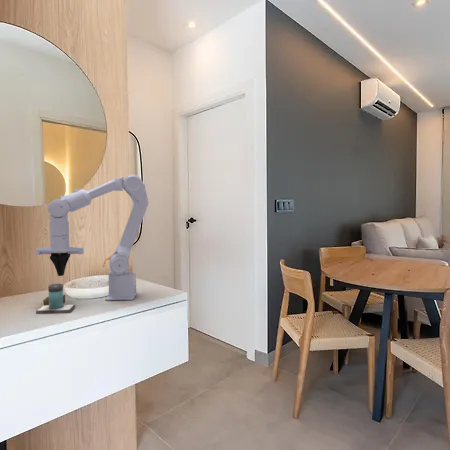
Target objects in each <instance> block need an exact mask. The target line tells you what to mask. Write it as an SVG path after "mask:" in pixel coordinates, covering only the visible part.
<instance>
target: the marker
mask: <svg viewBox="0 0 450 450" xmlns="http://www.w3.org/2000/svg"><path fill="white" fill-rule="evenodd" d="M63 295H64V284H63V283H52V284H48V296H49V309H59V308H62V307H63V305H64V304H63Z"/></svg>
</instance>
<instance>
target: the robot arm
mask: <svg viewBox="0 0 450 450" xmlns="http://www.w3.org/2000/svg"><path fill="white" fill-rule="evenodd" d="M114 191H115V192H118V191H119V192H123V191H125V193H127V194H128V196H130V199H131V201H132V202H133V205H132V208H131V211H130V214H129V216H128V219H127V222H126V224H125V226H124V229H123V232H122V235H121V237H120V240H119V244H118V245H117V247H116V249H115V251H114V252H113V253H112V254H111V255H112V256H111V255H110V256H111V257H110V256H109V257H110V259H109V269H110V270H109V271H108V295H107V296H106V298H105V300H106V301H128V300H132V301H133V300H134V299H135V298H136V296H137V274H136V272H131V270H130V269H129V268H130V264H129V262H130V261H129V259H130V256H131V254H132V253H131V252H132V248H133V246H134V244H135V240H136V238H137V235H138V233H139V230H140V227H141V225H142V221H143V219H144V216H145V214H146V211H147V208H148V206H149V198H148V194H147V190H146V184H145V183H144V181H143V180H142V178H141V177H140V176H139V175H137V174H128V175H126V177H125V176H121V177H118V178H114V179H112V180H110V181H107V182H105V183H103V184H100V185H98V186H96V187H93V188H92V189H90V190H89V189H88V190H86V189H84V188H83V189H82V188H81V189H79V188H76V189H74V192H72V193H69V194H67V195H61V196H60V197H59V198H60V199H59V198H57V199H56V198H55V199H53V200H52V201H50V203H48V205H47V212H48V213H49V241H50V242H49V244H50V247H40V248H36V249H35V255H36V256H39V255H50V256H49V259H50V261H51V262H52V264H53V266H54V267H55V271H56V274H57V277H63V276H65V271H66V267H67V264H68V261H69V259H70V257H71V255H83V254H84V252H85V250H84V247H73V246H72V247H70V229H69V228H70V227H69V225H70V224H69V223H70V222H69V215H68V214H69V212H71V213H73V212H75V211H78V210H81V209H82V208H85V207H87V206H90V205H91V203H92V200H93V199H95V198H98V197H101V196H105V195H107V194H108V193H111V192H114Z"/></svg>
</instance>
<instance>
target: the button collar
mask: <svg viewBox="0 0 450 450" xmlns="http://www.w3.org/2000/svg"><path fill="white" fill-rule="evenodd" d="M65 303H66V295H65V294H63V305H65ZM44 305H49V295H48V296H47V297H46V298H44V299H43V305H42V306H44Z"/></svg>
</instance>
